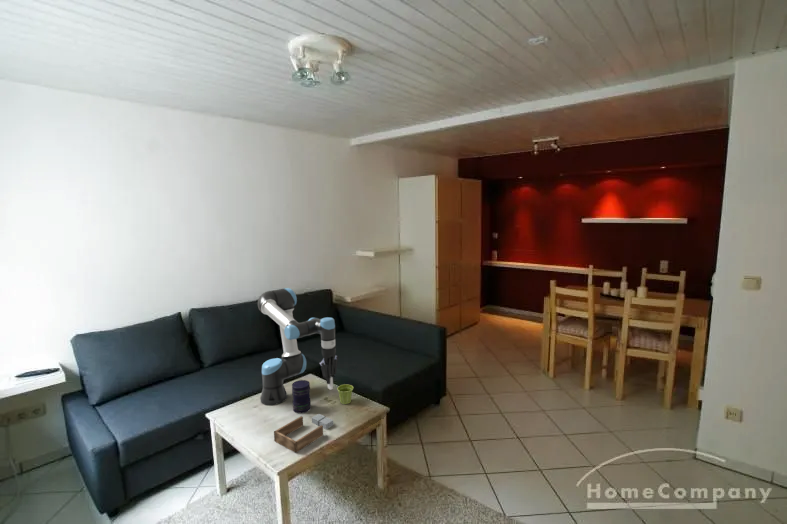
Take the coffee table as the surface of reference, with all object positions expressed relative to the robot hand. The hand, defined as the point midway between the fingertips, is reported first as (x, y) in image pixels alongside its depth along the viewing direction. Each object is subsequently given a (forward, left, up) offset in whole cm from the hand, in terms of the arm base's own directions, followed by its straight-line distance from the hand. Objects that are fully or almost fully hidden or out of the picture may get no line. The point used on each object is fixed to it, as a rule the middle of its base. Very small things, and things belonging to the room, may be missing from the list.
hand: (330, 388), depth 203 cm
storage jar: (-18, -5, -15) cm, 24 cm away
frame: (+3, -24, -15) cm, 29 cm away
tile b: (+6, -9, -15) cm, 19 cm away
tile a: (0, -9, -15) cm, 18 cm away
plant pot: (-3, +15, -15) cm, 22 cm away
